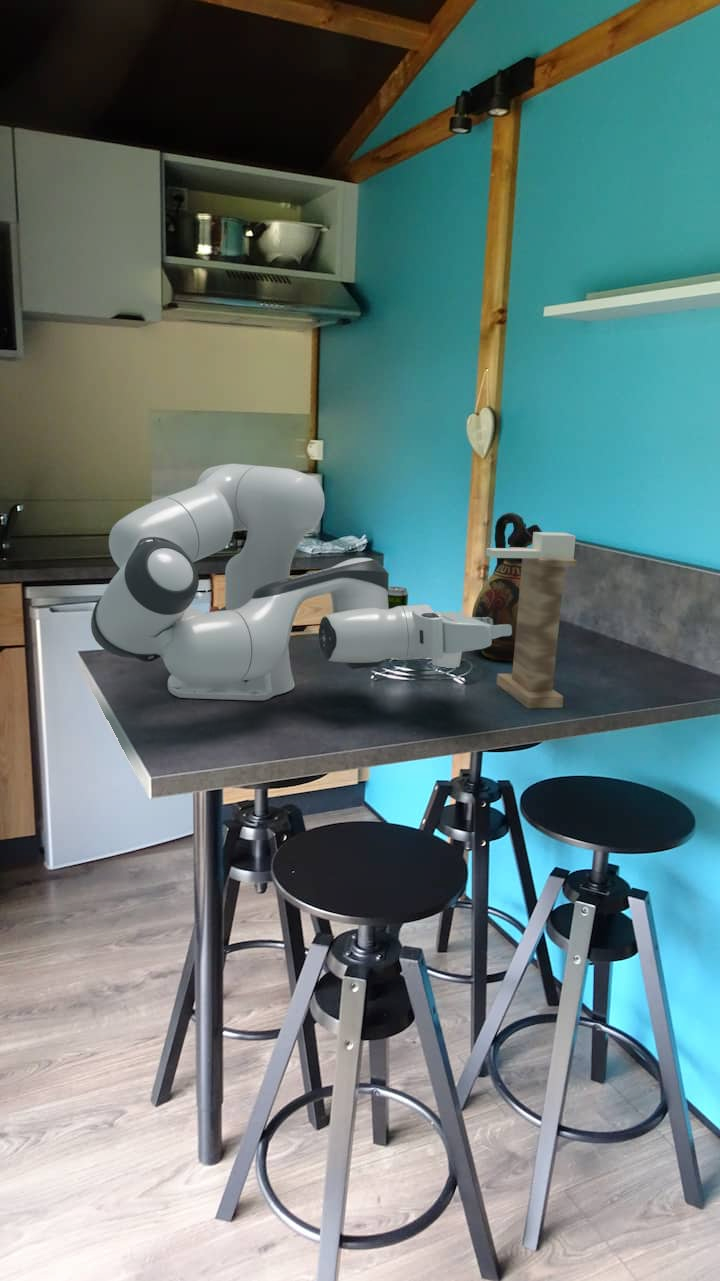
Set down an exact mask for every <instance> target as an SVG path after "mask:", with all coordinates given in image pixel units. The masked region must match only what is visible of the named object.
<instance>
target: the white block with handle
mask: <svg viewBox="0 0 720 1281" xmlns="http://www.w3.org/2000/svg"><path fill="white" fill-rule="evenodd" d="M576 538H577V536H576V535H575V534H571V533H567V532H555V531H554V532H551V531H550V532H547V531H545V532H544V531H542V532H533V542H532V545H531V548H532V549H517V548H508V547H506V548H496V547H486V549H485V550H486V551H485V556H487V557H489V558H492V559H497V558H540V559H574V556H575V546H576ZM574 560H575V559H574Z"/></svg>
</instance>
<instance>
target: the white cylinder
mask: <svg viewBox="0 0 720 1281" xmlns="http://www.w3.org/2000/svg"><path fill="white" fill-rule="evenodd" d="M462 653H463V652H458V653H444V656H443V657H442V658H431V665H432V664H433V665H436V666H440V667H446V668H453V669H457V668H456V667H458V668H459V667H460V666H461V661H462V660H461V659H462ZM433 665H432V666H433ZM446 668H445V669H446Z"/></svg>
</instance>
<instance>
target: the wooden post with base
mask: <svg viewBox="0 0 720 1281" xmlns="http://www.w3.org/2000/svg"><path fill="white" fill-rule="evenodd" d="M507 548H517V549H532V547H530V546H527V547H510V546H508V547H507ZM565 567H578V560H576V559H540V558H522V569H521V581H520V592H519V603H518V615H517V626H516V638H515V649H514V660H513V662H512V671H511V673H497V675H496V685H497V686H498V687H500V688H501V689H503V690H504V691H505V692H506V693H507V694H509V695H510V696H511V697H513V699H515V700H516V701H518V702H519V703H521V704H522V705H523V706H524V707H525V708H527V709H551V708H552V709H554V708H555V709H556V708H558V709H559V708H563V705H564V695H562V694H560V693H559V692H557V691H556V690H555V689H554V688H553V687H554V679H555V669H556V658H557V651H558V650H557V649H558V648H557V647H558V637H559V629H560V628H559V627H560V618H561V610H562V609H561V608H562V599H563V598H562V597H563V587H564V577H565V569H566V568H565Z"/></svg>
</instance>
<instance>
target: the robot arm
mask: <svg viewBox="0 0 720 1281" xmlns="http://www.w3.org/2000/svg"><path fill="white" fill-rule="evenodd" d="M325 501H326V500H325V492H324V491H323V488H322V486H321V484H320V482H319V480H317V479H316V478H315V477H314V476H311V475H309V474H307V473H304V472H301V471H298V470H296V469H292V468H286V467H275V466H265V465H254V464H253V465H252V464H242V463H226V464H220V465H214V466H211V467H208V468H206V470H204V471H202V473H201V474H200V476H199V477H198V480H196V485H194V486H192V487H188V488H185V489H183V490H181V491H178V492H175V493H172V494H169V495H167V496H165V497H162V498H159V499H157V500H153V501H152V502H149V503H147V504H145V505H143V506H141V507H138V508H137V509H135V510H134V511H131V512H130V513H129V514H126V515H125V516H123V517H122V518H121V519H119V520H118V521H116V523H115V524H114V525H113V526H112V528H111V531H110V532H109V536H108V548H109V553H110V554H111V557H112V560H113V562H114V563H115V564H116V565H117V567H118V568H119V570H118V571H117V573H116V574H115V575H114V576H113V577H112V579H111V580H110V582H109V583H108V585H107V586H106V588H105V590H104V591H103V594H102V596H101V597H100V598H99V599H98V600H97V602H96V603H95V606H94V608H93V611H92V613H91V618H90V619H91V620H90V628H91V629H90V630H91V633H92V636H93V638H94V640H95V641H96V643H97V644H98V645H99V646H100V647H101V648H102V649H103V650H105V651H107V652H108V653H110V654H112V655H114V656H118V657H121V658H126V659H137V660H138V661H142V662H143V663H151V662H153V661H156V660H158V659H159V658H162V660H163V663H164V666H165V667H166V669H167V671H168V672H169V673H170V675H169V677H168V679H167V689H168V692H169V693H171V695H173V696H175V697H177V698H181V699H182V698H183V699H207V700H209V699H210V700H233V701H234V700H235V701H236V700H237V701H266V700H269V699H271V698H272V697H274V696H278V695H282V694H285V693H287V692H290V691H292V690H293V689H294V688H295V686H296V684H295V682H294V676H293V672H292V668H291V667H292V666H291V660H290V652H289V643H290V638H291V632H292V628H293V626H294V625H293V624H294V621H295V618H296V615H297V612H298V610H299V609H300V607H301V605H302V604H303V603H304V601H306V600H308V599H311V598H315V597H318V596H322V595H325V594H330V598H331V609H332V613H329V614H326V615H324V616H323V617H322V618H321V619H320V623H319V628H318V643H319V649H320V651H321V654H322V656H323V657H324V659H325V660H326V661H329V662H334V663H336V662H337V663H343V664H345V665H346V666H347V667H348V668H349V669H351V670H357V669H365V668H381V666H382V665H383V664H384V663H385V662H386V661H387V660H388V659H389V660H390V659H391V660H392V659H395V660H399V661H408V660H416V659H417V660H420V659H432V658H442V657H443V656H444V653H458V652H462V653H463V652H465V653H466V652H470V651H477V650H482V649H483V648H486V647H489V646H491V644H492V639H495V638H498V637H501V636H510V635H511V634H512V627H511V625H509V624H498V625H493V619H492V618H489V617H482V618H479V617H472V616H469V615H466V614H463V613H461V612H458V611H453V610H452V611H441V612H440V611H439V610H436V611H435V610H433V609H432V606H431V605H430V604H428V603H427V604H411V605H409V604H408V605H407V606H397V607H394V608H391V609H388V587H389V576H390V574H389V572H388V571H387V570H386V569H385V568H384V565H382V564H381V563H380V562H379V561H378V560H376V559H372V558H371V557H370V558H369V557H355V558H354V557H353V558H349V559H347V560H344V561H342V562H339V563H338V564H337V563H336V565H333V566H329V567H325V568H323V569H319V570H318V569H317V570H315V571H311V572H306V573H303V574H298V575H296V576H291V577H290V573H291V567H292V564H293V563H292V562H293V559H294V556H295V553H296V551H297V549H298V547H299V545H300V543H301V542H302V540H303V539H304V537H305V536H306V535H307V534H308V533H309V532H311V531H312V530H313V529H315V528H316V527H317V525H318V524H319V522H320V521H321V519H322V517H323V513H324V512H325V503H326V502H325ZM240 531H247V534H246V540H245V543H244V545H243V547H242V549H241V551H240V552H239V553H237V554H235V555H234V556H232V557H231V558H230V559H229V560H228V562H227V563H226V566H225V572H224V574H225V575H224V577H225V578H224V582H225V583H224V585H225V586H224V590H225V591H224V606H223V607H221V608H219V606H216V605H213V606H211V607H210V608H209V611H207V610H206V611H205V610H200V609H197V608H194V607H192V606H191V604H192V602H193V601H194V599H195V598H196V595H197V591H198V589H199V584H200V580H199V579H200V578H199V574H198V570H197V568H196V566H195V564H194V563H195V562H197V561H200V560H201V559H204V558H207V557H209V556H211V555H214V554H216V553H218V552H221V551H222V550H224V549H225V548H226V547H227V546H229V543H230V542H231V540H232V538H233V533H234V532H240ZM150 657H151V658H150Z"/></svg>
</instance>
